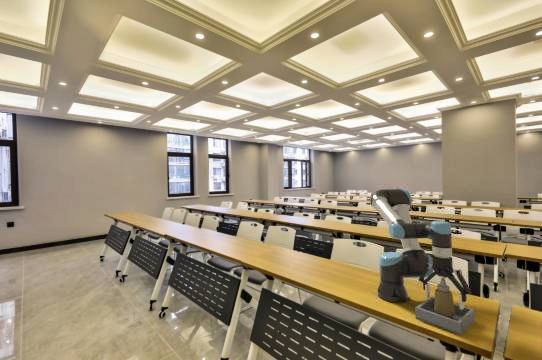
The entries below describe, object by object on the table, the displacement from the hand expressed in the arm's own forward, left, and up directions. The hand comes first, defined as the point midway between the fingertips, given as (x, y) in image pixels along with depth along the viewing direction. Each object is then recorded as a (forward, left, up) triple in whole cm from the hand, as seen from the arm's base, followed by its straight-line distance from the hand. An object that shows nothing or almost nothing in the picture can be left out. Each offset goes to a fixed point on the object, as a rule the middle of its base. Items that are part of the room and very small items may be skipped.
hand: (444, 303), depth 116 cm
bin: (0, 0, -8) cm, 8 cm away
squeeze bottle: (0, 0, -7) cm, 7 cm away
